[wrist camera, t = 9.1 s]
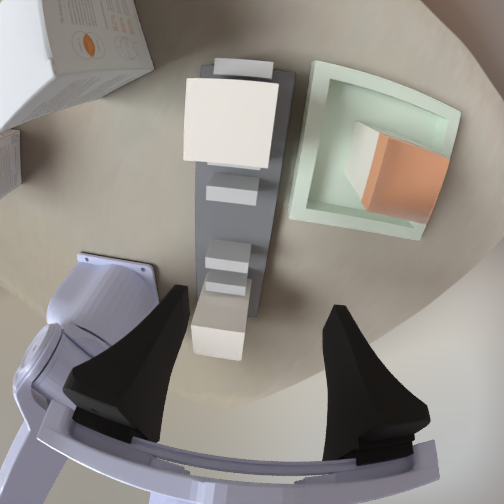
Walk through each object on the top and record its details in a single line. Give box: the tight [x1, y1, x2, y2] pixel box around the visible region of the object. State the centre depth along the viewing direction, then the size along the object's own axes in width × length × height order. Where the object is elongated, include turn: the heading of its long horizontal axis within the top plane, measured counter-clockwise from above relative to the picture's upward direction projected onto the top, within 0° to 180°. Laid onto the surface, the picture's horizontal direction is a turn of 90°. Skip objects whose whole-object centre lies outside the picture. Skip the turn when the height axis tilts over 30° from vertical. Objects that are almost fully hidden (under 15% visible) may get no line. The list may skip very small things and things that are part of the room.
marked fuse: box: [344, 120, 450, 225], centre depth 14 cm, size 4×4×6 cm
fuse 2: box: [191, 273, 252, 361], centre depth 23 cm, size 4×4×6 cm
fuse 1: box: [183, 78, 279, 168], centre depth 13 cm, size 4×4×6 cm
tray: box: [288, 60, 461, 241], centre depth 16 cm, size 11×11×2 cm
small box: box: [0, 0, 154, 133], centre depth 9 cm, size 8×6×10 cm
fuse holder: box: [195, 58, 295, 317], centre depth 20 cm, size 6×23×3 cm, turn 174°
